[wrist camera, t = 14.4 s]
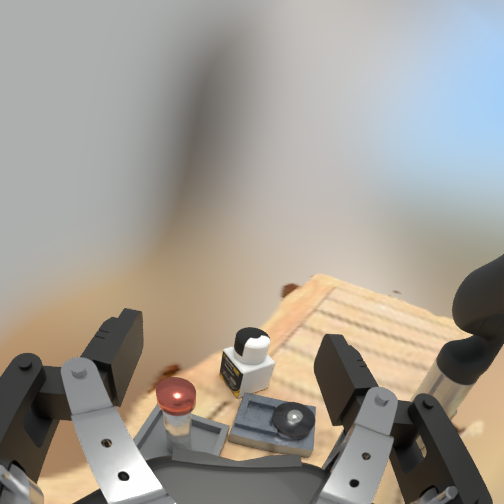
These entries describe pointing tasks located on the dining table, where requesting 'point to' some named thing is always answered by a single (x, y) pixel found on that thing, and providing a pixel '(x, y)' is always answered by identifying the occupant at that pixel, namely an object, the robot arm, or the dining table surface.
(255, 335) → the medicine bottle
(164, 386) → the pin
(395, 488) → the dining table surface
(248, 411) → the tensioner block
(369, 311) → the dining table surface
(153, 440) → the tray
